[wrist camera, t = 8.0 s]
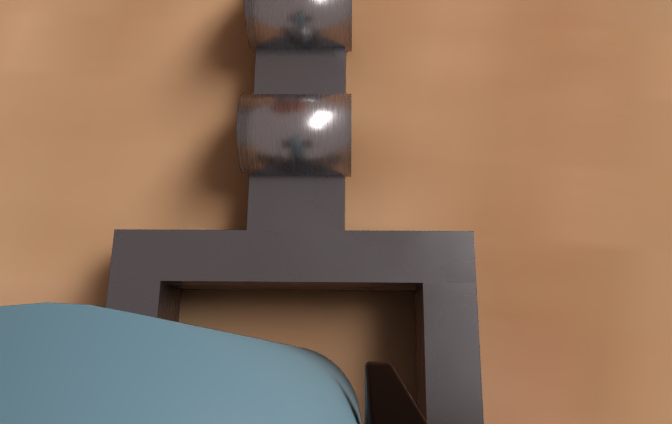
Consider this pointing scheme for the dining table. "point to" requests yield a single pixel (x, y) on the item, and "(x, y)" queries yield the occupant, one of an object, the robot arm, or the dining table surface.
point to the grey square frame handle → (313, 214)
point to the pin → (157, 372)
